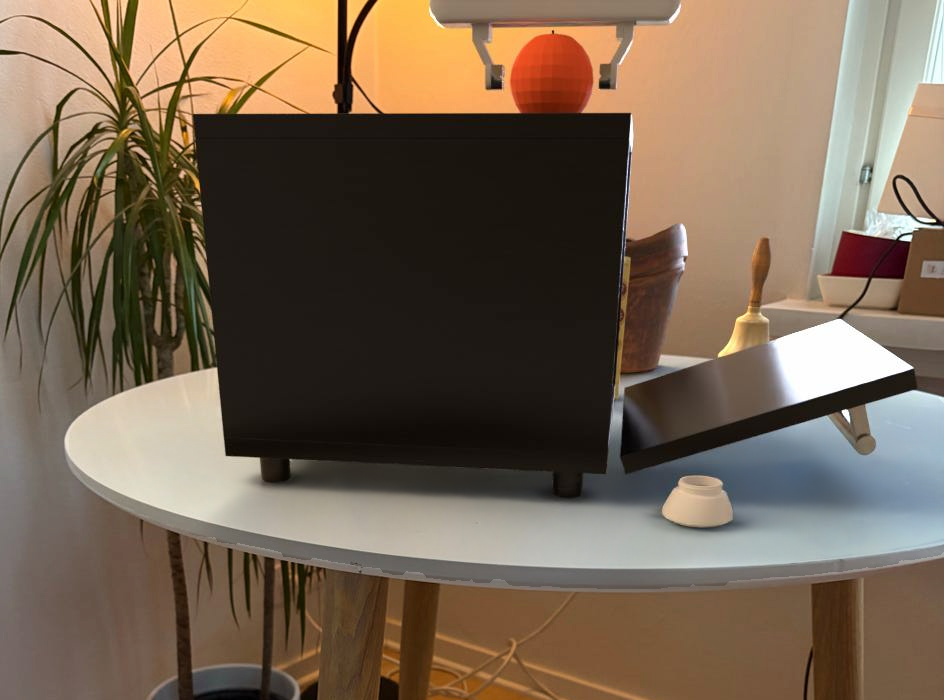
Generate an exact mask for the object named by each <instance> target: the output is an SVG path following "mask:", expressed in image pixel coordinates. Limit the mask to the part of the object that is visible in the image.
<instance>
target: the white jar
mask: <svg viewBox="0 0 944 700" xmlns="http://www.w3.org/2000/svg"><path fill="white" fill-rule="evenodd" d="M677 485H678V486H676V487H674V488H673V489H672V490H671V492H670V494H669V496H668V497H667V499H666V501H664V504H663V505H662V509H661V515H662V516H663V517H664V518H666V519H667V520H669V521H671V522H672V523H675V524H678V525H681V526H685V527H690V528H700V529H701V528H714V527H720V526H722V525H726V524H727V523H729V522H731V521H732V520H733V517H734V510H733V508H732V505H731V501H730V498H729V496H728V493H727V491H725V490H724V489H723V486H724V483H723V481H722V480H721V479H719V478H717V477H713V476H708V475H686V476H682V477H681V478H679V480H678V482H677Z"/></svg>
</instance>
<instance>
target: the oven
mask: <svg viewBox="0 0 944 700" xmlns="http://www.w3.org/2000/svg"><path fill="white" fill-rule="evenodd" d="M192 123H193V134H194V145H195V154H196V164H197V175H198V176H197V177H198V185H199V194H200V195H199V197H200V206H201V216H202V227H203V237H204V247H205V259H206V267H207V268H206V269H207V277H208V278H207V279H208V286H209V287H208V289H209V297H210V298H209V299H210V300H209V301H210V310H211V320H212V330H213V342H214V351H215V362H216V371H217V383H218V391H219V403H220V412H221V422H222V424H221V425H222V433H223V443H224V444H223V445H224V454H225V455H224V456H225V457H232V458H233V457H236V458H254V459H255V458H256V459H259V466H260V476H261V481H262V482H265V483H270V484H271V483H275V484H276V483H277V484H278V483H284V482H285V483H286V482H288V481H290V480H291V479H292V472H291V460H297V461H298V460H299V461H317V462H335V463H336V462H337V463H338V462H339V463H355V464H357V463H359V464H375V465H376V464H377V465H378V464H382V465H397V466H398V465H399V466H419V467H438V468H439V467H441V468H457V469H459V468H461V469H462V468H463V469H477V470H478V469H481V470H498V471H499V470H501V471H518V472H519V471H521V472H542V473H552V485H551V495H553V496H555V497H557V498H562V499H575V498H580V497H582V495H583V490H584V489H583V488H584V475H603V476H606V475H607V474H608V473H607V472H608V461H609V454H610V443H611V435H612V434H611V433H612V424H613V417H614V405H615V399H614V398H615V384H616V370H617V356H618V342H619V327H620V313H621V299H622V285H623V271H624V257H625V243H626V237H627V228H628V226H627V225H628V213H629V212H628V211H629V198H630V186H631V185H630V184H631V172H632V157H633V142H634V129H633V127H634V126H633V114H632V112H581V113H519V112H411V113H410V112H405V113H403V112H401V113H400V112H398V113H397V112H395V113H394V112H393V113H392V112H391V113H390V112H389V113H388V112H385V113H383V112H380V113H377V112H376V113H375V112H373V113H372V112H371V113H369V112H368V113H365V112H364V113H363V112H362V113H361V112H360V113H358V112H355V113H353V112H352V113H351V112H350V113H342V112H341V113H339V112H337V113H334V112H333V113H331V112H329V113H325V112H324V113H323V112H322V113H321V112H320V113H316V112H315V113H192Z"/></svg>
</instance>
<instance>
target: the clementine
mask: <svg viewBox="0 0 944 700" xmlns="http://www.w3.org/2000/svg"><path fill="white" fill-rule="evenodd" d="M509 76H510V77H509V91H510V95H511V99H512V101H513V105H514V107H515V108H516V110H517V111H518V113H583V111H584V110H585V109H586V107H587V105H588V103H589V100H590V98H591V96H592V92H593V87H594V68H593V65H592V61H591V58H590V57H589V55H588V53H587V52H586V50H585V48H584V47H583V46H582V45H581V43H579V42H578V41H577V39H575V38H573V37H572V36H571V35H567V34H563V33H555V30H554V29H552V30H551V33H544V34H540V35H537V36H536V35H535V36H534V37H533V38H531V39H530V40H529V41H528V42H527V43H525V44H524V45H523V46H522V48H521V49H520V51H519V52H518V53H517V55H516V56H515V59H514V61H513V63H512V66H511V70H510V75H509Z"/></svg>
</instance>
